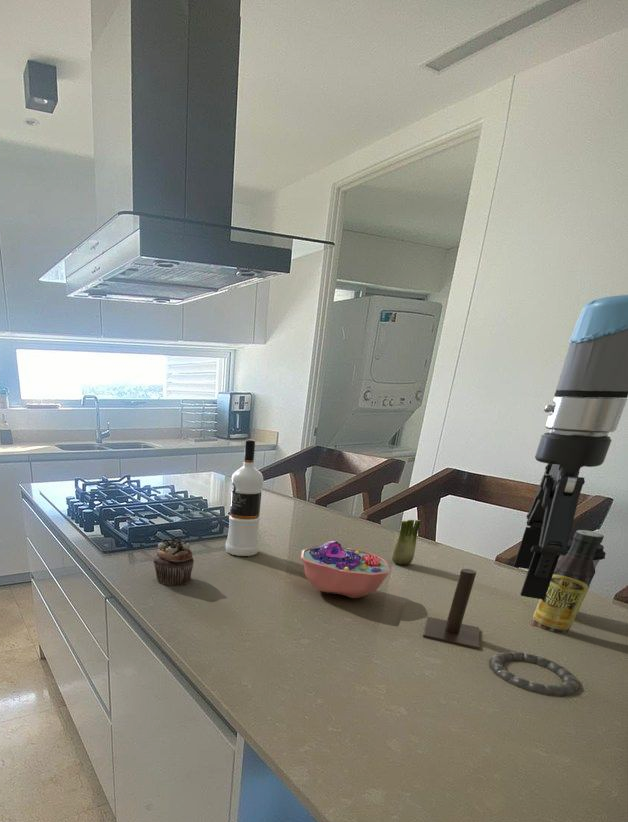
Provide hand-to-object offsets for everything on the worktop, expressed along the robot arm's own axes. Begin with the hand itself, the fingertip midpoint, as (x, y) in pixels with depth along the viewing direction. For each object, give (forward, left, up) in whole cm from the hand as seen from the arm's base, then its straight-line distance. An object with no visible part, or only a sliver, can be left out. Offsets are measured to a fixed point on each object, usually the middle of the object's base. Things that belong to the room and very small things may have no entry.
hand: (527, 581), depth 73 cm
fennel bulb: (+20, -51, -17) cm, 57 cm away
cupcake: (+66, -9, -17) cm, 69 cm away
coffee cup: (-12, -37, -17) cm, 42 cm away
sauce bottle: (-10, -25, -17) cm, 31 cm away
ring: (-5, -2, -16) cm, 16 cm away
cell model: (+30, -22, -17) cm, 41 cm away
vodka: (+60, -37, -17) cm, 72 cm away
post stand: (+7, -11, -17) cm, 21 cm away
